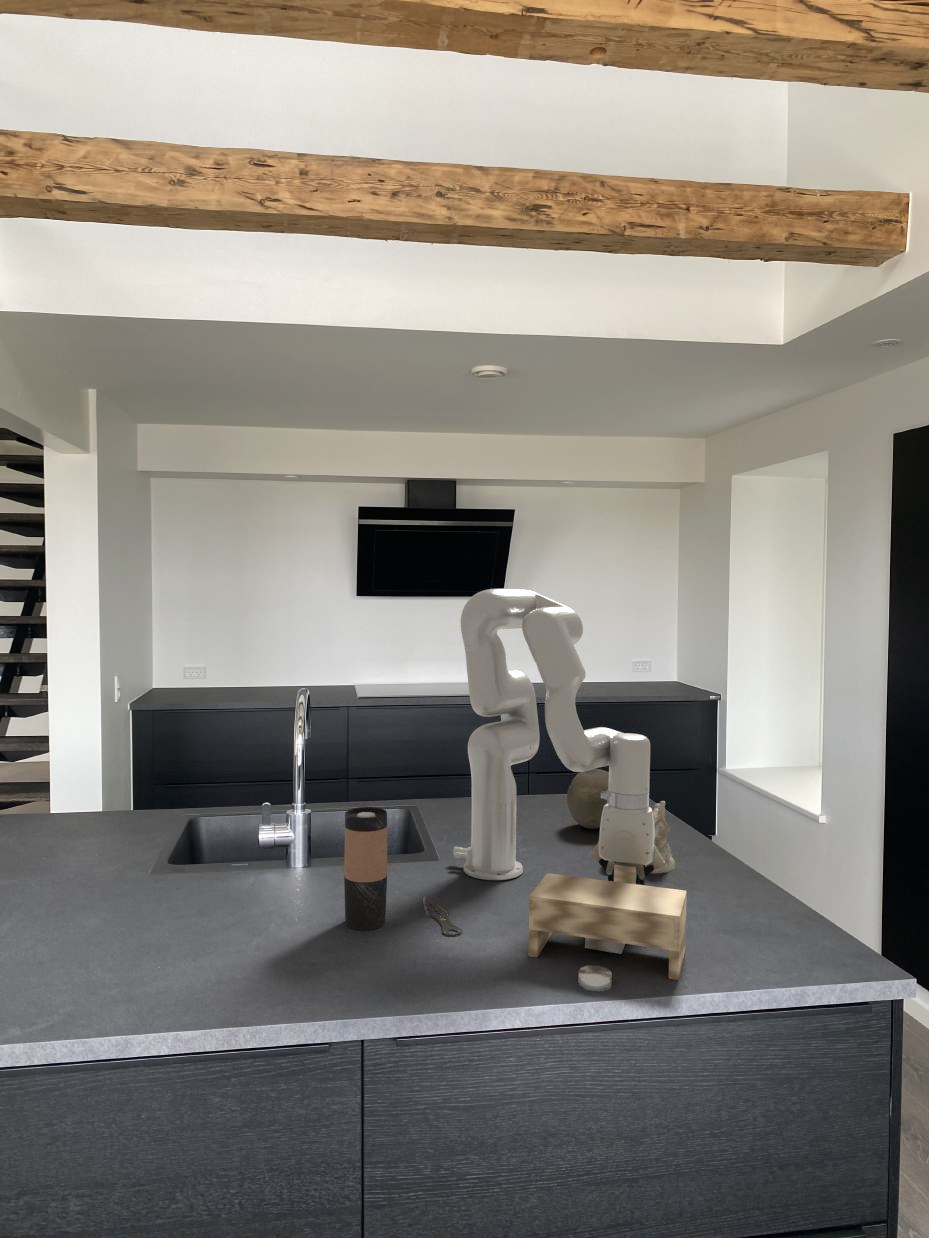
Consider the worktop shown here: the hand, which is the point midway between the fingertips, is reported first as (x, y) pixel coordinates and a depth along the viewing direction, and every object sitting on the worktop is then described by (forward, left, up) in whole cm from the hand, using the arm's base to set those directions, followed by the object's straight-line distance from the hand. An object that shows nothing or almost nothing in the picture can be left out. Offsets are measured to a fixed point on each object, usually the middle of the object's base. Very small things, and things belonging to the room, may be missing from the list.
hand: (625, 894), depth 162 cm
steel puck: (0, -33, -3) cm, 33 cm away
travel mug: (-43, -24, -3) cm, 49 cm away
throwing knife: (-32, -16, -3) cm, 36 cm away
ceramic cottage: (-2, +29, -3) cm, 29 cm away
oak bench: (0, -21, -3) cm, 21 cm away
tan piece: (0, -10, -2) cm, 10 cm away
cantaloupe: (-16, +51, -3) cm, 53 cm away
